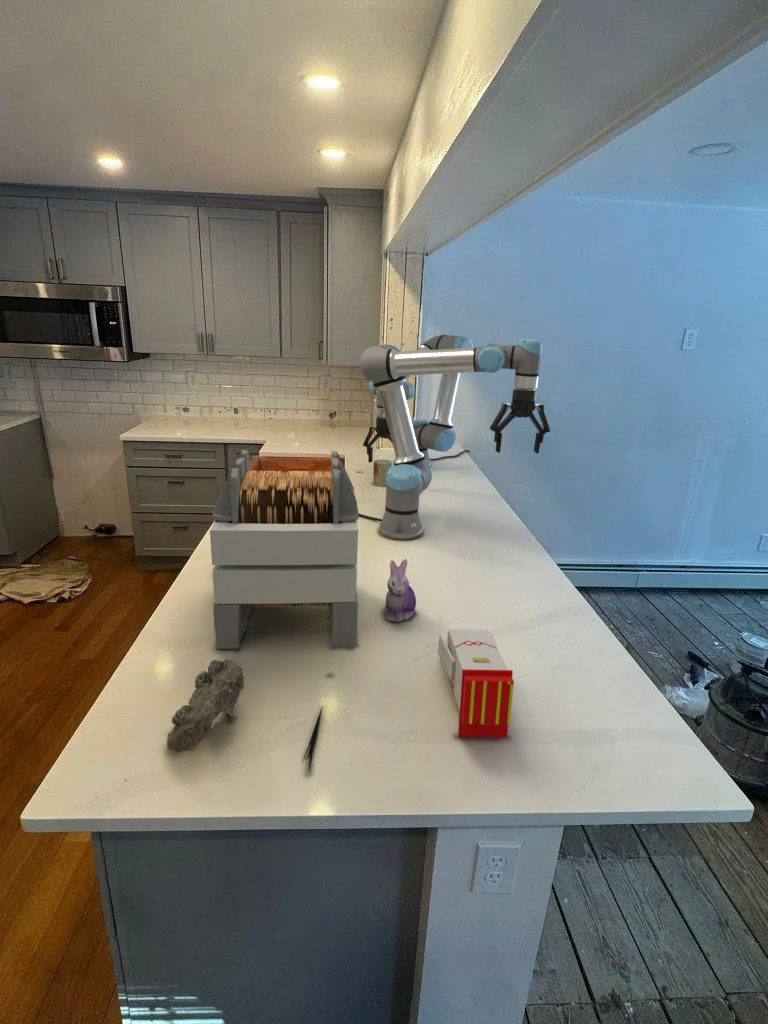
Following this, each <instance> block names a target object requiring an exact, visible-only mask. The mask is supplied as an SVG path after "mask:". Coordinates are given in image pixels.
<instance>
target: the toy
mask: <svg viewBox="0 0 768 1024" xmlns="http://www.w3.org/2000/svg"><path fill="white" fill-rule="evenodd" d="M446 640H447V643H446V641H445V639H444V636H443V635H442V634H439V637H438V646H437V656H438V657H439V659H440V661H441V663H442V666H443V668H444V670H445V672H446V674H447V677H448V679H449V681H450V684H451V687H452V690H453V693H454V697H455V701H456V705H457V708H458V711H459V714H458V715H459V716H458V730H457V731H458V732H457V737H458V738H508V731H509V726H510V725H511V717H512V707H513V697H514V696H513V695H514V684H515V680H514V679H513V673H514V671H513V670H512V669H508V667H507V665H506V662H505V661H504V659H503V658H502V655H501V653H500V651H499V649H498V647H497V643H496V639H495V637H494V635H493V634H491V632H490V631H489V629H467V628H466V629H465V628H463V629H461V628H460V629H459V628H448V630H447V639H446Z"/></svg>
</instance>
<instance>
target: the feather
mask: <svg viewBox="0 0 768 1024" xmlns="http://www.w3.org/2000/svg"><path fill="white" fill-rule="evenodd" d="M329 675H330V676H331V675H332V674H331V673H330V674H329ZM322 710H323V707H321V708H320V710H319V713H318V716H317V719H316V723H315V725H314V728H313V731H312V733H311V737H310V739H309V742H308V745H307V748H306V751H305V754H304V757H303V760H302V763H301V767H302V765H303V763H304V761H305V758H308V759H309V760H308V762H307V763H308V764H307V766H308V771H310V770H311V766H312V765H311V764H312V760H313V757H315V756H314V755H315V751H316V749H315V746H317V739H318V733H319V729H320V722H321V717H322V712H323V711H322ZM313 754H314V755H313ZM306 755H307V757H306Z"/></svg>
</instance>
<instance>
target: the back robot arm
mask: <svg viewBox="0 0 768 1024" xmlns="http://www.w3.org/2000/svg"><path fill="white" fill-rule="evenodd" d="M472 347H474V345H473V342H472V340H471V339H470V338H469V337H467V336H464V335H463V336H462V335H452V334H451V335H449V334H439V335H435V336H433V337H431V338H429V339H427V340H426V341H424V342H423V343H421V344H420V345H419V346H418V347H417V349H416V351H419V350H437V349H454V348H472ZM461 374H462V373H446V374H441V378H440V382H439V387H438V392H437V396H436V397H437V398H436V402H435V407H434V411H433V416H432V418H431V419H411V421H412V425H413V429H414V433H415V437H416V441H417V445H418V449H419V451H420V452H421V453H423V454H424V456H425V460H426V462H427V463H428V464H429V466H430V467H431V462H432V461H440V460H443V459H450V458H457V457H459V456H461V455H462V454H464V453H469V454H471V451H470V450H469V449H464V450H462V451H460V452H458V454H455V455H446V456H440V457H436V458H430V455H429V450H433V451H435V452H441V453H445V452H448V451H450V450H451V449H452V447H453V446H454V444H455V442H456V439H457V433H456V431H455V429H453V428H454V424H453V423H452V416H453V413H454V408H455V402H456V398H457V394H458V388H459V383H460V379H461ZM411 376H412V375H405V379H406V380H407V379H409V378H410V377H411ZM403 388H404V393H405V397H406V401H408V400H412V399H413V398H414V396H415V393H416V389H415V386H414V384H413V383H412V382H406V381H405V382H404V384H403ZM368 391H369V393H370V394H371V395H372V396H375V398H376V399H375V400H376V401H375V403H376V404H375V415H376V418H375V425H371V426H369V429H368V432H367V434H366V437H365V438H364V441H363V443H362V446H363V447H364V448H366V455H367V456H368V457H367V458H368V461H367V462H368V463H372V462H374V458H373V456H374V455H373V454H374V448H373V445H374V444H375V442H376V441H377V440H378V439H386V440H387V439H388V441H390V443H391V444H392V445H393V443H392V439H391V435H390V431H389V427H388V423H387V420H386V416H385V412H384V408H383V404H382V400H381V396H380V392H379V391H378V390H376V389H374V386H373V382H372V381H370V380H369V384H368ZM374 432H376V434H375V435H374V436H373V434H374ZM372 436H373V438H372ZM371 438H372V439H371Z"/></svg>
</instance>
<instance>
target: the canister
mask: <svg viewBox="0 0 768 1024" xmlns="http://www.w3.org/2000/svg"><path fill="white" fill-rule="evenodd" d="M392 465H393V461H392V460H390V459H385V458H384V459H381V458H379V459H374V460H373V470H372V471H373V473H372V474H373V475H372V484H373V486H377V487H386V477H387V472H388V470H389V469H390V468H391V467H393V466H392Z"/></svg>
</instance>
